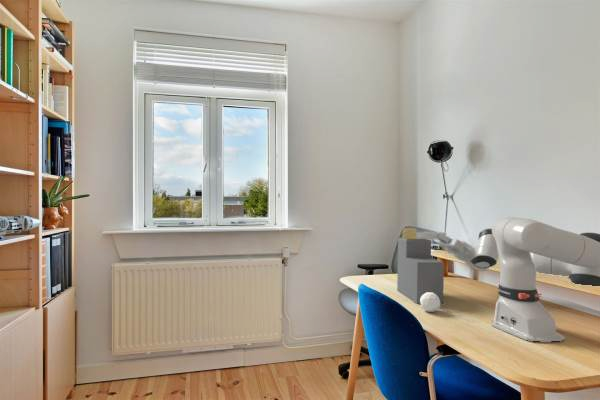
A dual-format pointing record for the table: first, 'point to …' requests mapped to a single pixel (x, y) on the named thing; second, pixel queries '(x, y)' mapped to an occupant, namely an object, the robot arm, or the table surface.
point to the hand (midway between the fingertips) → (436, 235)
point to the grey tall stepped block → (418, 270)
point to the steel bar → (419, 234)
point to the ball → (430, 302)
